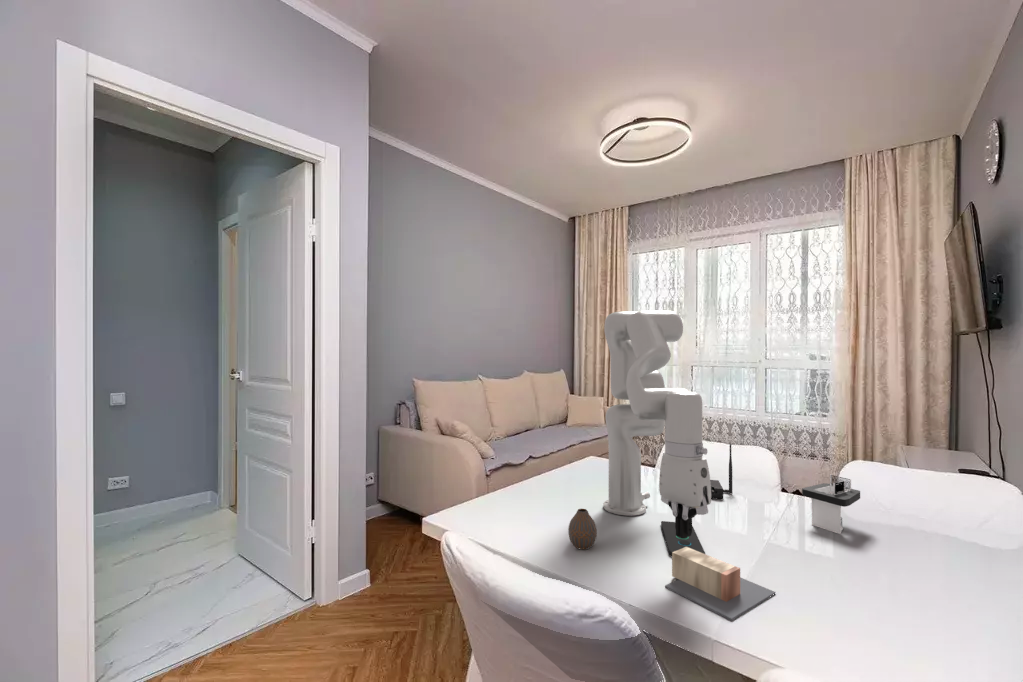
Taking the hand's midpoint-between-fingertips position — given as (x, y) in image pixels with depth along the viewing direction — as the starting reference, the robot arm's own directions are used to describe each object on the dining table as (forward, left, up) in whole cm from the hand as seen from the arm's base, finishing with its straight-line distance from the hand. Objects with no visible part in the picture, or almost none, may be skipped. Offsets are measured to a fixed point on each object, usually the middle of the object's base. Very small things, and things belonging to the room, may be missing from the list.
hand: (683, 535), depth 98 cm
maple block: (0, -1, -6) cm, 6 cm away
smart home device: (-16, -12, -9) cm, 22 cm away
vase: (+7, -24, -9) cm, 26 cm away
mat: (-1, +7, -9) cm, 12 cm away
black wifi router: (-56, -32, -9) cm, 65 cm away
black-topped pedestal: (-60, +6, -9) cm, 61 cm away
